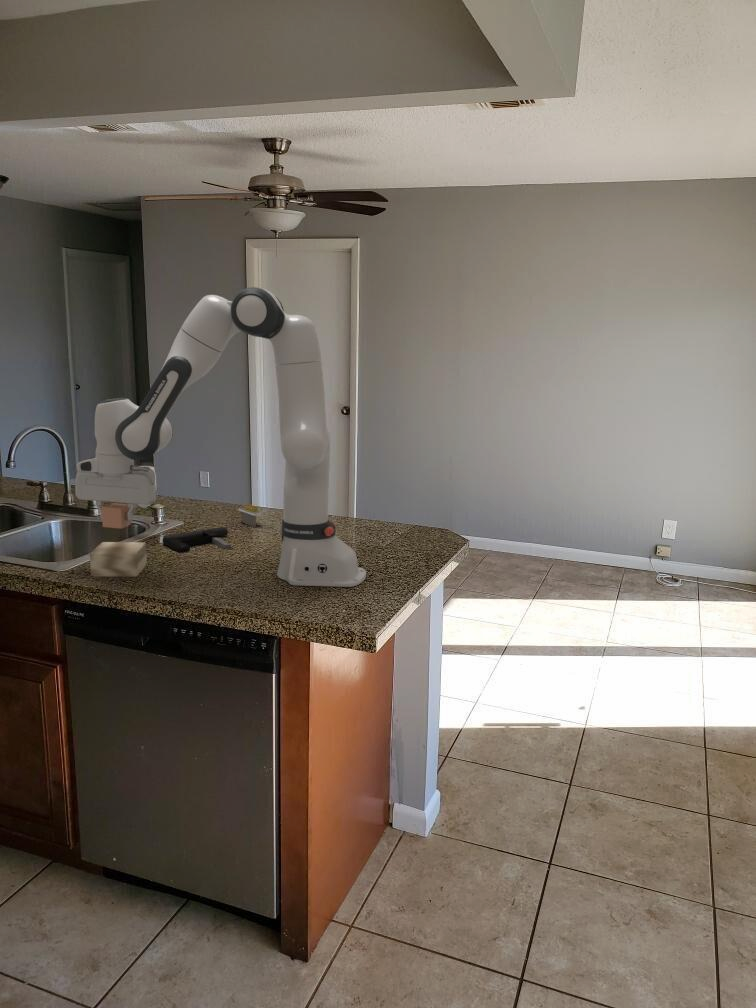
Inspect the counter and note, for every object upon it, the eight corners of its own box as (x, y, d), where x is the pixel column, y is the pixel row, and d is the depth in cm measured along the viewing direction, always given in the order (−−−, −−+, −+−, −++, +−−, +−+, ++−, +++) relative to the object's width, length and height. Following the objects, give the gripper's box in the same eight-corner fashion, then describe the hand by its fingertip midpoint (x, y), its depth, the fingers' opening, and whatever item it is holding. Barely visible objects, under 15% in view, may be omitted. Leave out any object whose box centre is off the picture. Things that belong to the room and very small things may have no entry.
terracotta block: (131, 524, 197) (130, 504, 196) (121, 528, 193) (120, 508, 192) (113, 522, 198) (112, 503, 197) (102, 526, 193) (101, 507, 192)
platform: (252, 518, 259) (252, 498, 258) (282, 529, 246) (283, 508, 245) (220, 522, 252) (220, 502, 250) (250, 534, 238) (250, 513, 237)
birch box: (146, 564, 204) (145, 542, 202) (136, 577, 193) (135, 554, 192) (103, 564, 203) (102, 542, 202) (90, 577, 192) (89, 553, 191)
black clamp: (249, 539, 224) (221, 524, 235) (184, 549, 211) (158, 533, 223) (249, 550, 224) (221, 535, 236) (184, 561, 212) (158, 544, 224)
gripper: (160, 465, 193) (161, 519, 196) (84, 459, 197) (87, 513, 200) (148, 469, 187) (149, 525, 190) (70, 463, 191) (73, 518, 194)
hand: (116, 519), depth 195 cm, fingers closed on terracotta block, 5 cm apart
